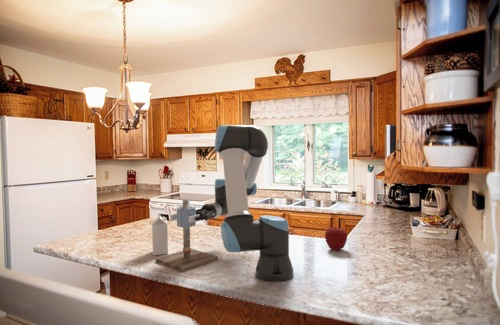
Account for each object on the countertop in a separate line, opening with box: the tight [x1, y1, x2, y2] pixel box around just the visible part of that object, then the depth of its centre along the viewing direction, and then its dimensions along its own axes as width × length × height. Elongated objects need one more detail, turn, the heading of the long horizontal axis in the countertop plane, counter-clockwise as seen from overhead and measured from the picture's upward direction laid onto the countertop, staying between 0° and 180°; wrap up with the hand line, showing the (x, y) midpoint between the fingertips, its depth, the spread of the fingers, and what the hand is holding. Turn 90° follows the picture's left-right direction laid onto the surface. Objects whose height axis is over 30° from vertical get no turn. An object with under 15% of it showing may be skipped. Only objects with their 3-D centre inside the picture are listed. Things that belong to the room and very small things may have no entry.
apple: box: [324, 226, 348, 252], centre depth 161 cm, size 11×11×12 cm
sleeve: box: [176, 205, 197, 228], centre depth 147 cm, size 8×8×8 cm
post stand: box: [155, 198, 219, 273], centre depth 147 cm, size 20×20×28 cm
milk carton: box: [151, 213, 169, 256], centre depth 159 cm, size 7×7×19 cm
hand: (179, 218), depth 143 cm, fingers open, 10 cm apart
